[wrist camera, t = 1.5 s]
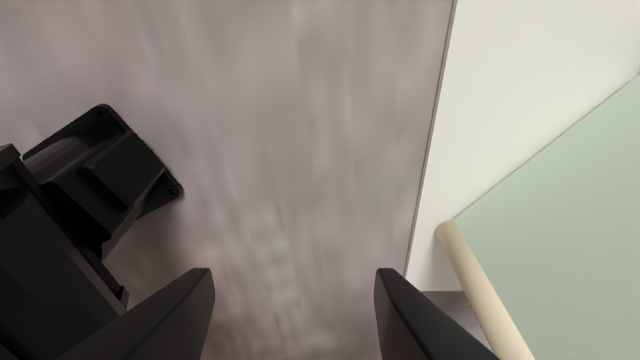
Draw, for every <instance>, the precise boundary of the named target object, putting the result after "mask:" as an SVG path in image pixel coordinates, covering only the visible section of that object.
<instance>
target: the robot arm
mask: <svg viewBox="0 0 640 360" xmlns="http://www.w3.org/2000/svg"><path fill="white" fill-rule="evenodd" d="M100 110H101V111H103V112H105V114H106V117H104V116H103V115H102V114H101V111H100ZM20 156H21V154H20V153H19V152H18V151H17V149H16V148H15V147H14V145H13V144H12V143H11V144H7V145H4V146H0V360H199V359H200V356H201V353H202V349H203V346H204V342H205V338H206V334H207V330H208V326H209V322H210V318H211V314H212V310H213V306H214V302H215V288H214V283H213V278H212V273H211V270H210V269H209V268H193V269H191V270H189V271H188V272H186V273H185V274H183V275H182V276H180V277H179V278H177V279H176V280H174V281H173V282H171V283H170V284H168V285H167V286H165V287H164V288H162V289H161V290H159V291H158V292H156V293H155V294H153V295H152V296H150V297H149V298H147V299H146V300H144V301H143V302H141V303H140V304H138V305H137V306H135V307H134V308H132V309H131V310H129V311H127V310H126V309H127V304H128V299H129V292H128V291H127V290H126V289H125V287H124V286H120V285H119V283H118V282H117V281H116V280H115V278H114V277H113V276H112V275H111V273H110V272H109V271H108V270H107V268H106V267H105V266H104V264H103V263H102V262H103V261H104V260H105V258H106V257H107V256H108V254H109V253H110V252H111V251H112V249H113V248H114V247H115V245H116V244H117V243H118V242H119V240H120V239H121V238H122V236H123V235H124V234H125V233H126V231H127V230H128V229H129V227H130V226H131V225H132V224H133V222H134V221H135V220H137V219H139V218H141V217H142V216H144V215H146V214H148V213H150V212H152V211H153V210H155V209H157V208H159V207H161V206H163V205H165V204H166V203H168V202H170V201H172V200H174V199H176V198H177V197H179V195H180V194H181V192H182V187H181V185H180V184H179V183H178V182H177V181H176V179H175V178H174V177H173V176H172V175H171V174H170V173H169V172H168V170H167V169H166V168H165V167H164V165H163V164H162V162H161V161H160V160H159V159H158V158H157V157H156V156H155V155H154V153H153V152H152V151H151V150H150V149H149V148H148V147H147V146H146V144H145V143H144V142H143V141H142V140H141V139H140V138H139V137H138V135H137V134H136V133H134V132H133V131H132V130H131V129H130V128H129V127H128V126H127V124H126V123H125V122H124V121H123V120H122V119H121V118H120V117H119V115H118V114H117V113H116V112H115V111H114V110H113V109H112V108H111V107H110V106H109V105H106V104H99V105H97V106H95V107H93V108H92V109H90V110H89V111H87V112H86V113H84V114H83V115H82V116H80V117H79V118H77V119H76V120H74V121H73V122H71V123H70V124H68V125H67V126H65V127H64V128H62V129H61V130H59V131H58V132H56V133H55V134H53V135H52V136H50V137H49V138H47V139H46V140H44V141H43V142H41V143H40V144H38V145H37V146H35V147H34V148H32V149H31V150H29V151H28V152H26V153H25V154H24V155H23V157H22V159H23V162H22V161H21V159H20V158H19V157H20ZM170 188H173V189H174V190H175V191H176V192H173V191H171V190H170ZM374 306H375V313H376V320H377V327H378V334H379V342H380V348H381V354H382V359H383V360H501V359H500V358H498V357H497V356H496V355H495V354H494V353H493V352H491V351H490V350H489V349H488V348H487V347H485V346H484V345H483V344H482V343H481V342H480V341H478V340H477V339H476V338H475V337H474V336H472V335H471V334H470V333H469V332H468V331H467V330H465V329H464V328H463V327H462V326H461V325H459V324H458V323H457V322H456V321H455V320H454V319H452V318H451V317H450V316H449V315H448V314H446V313H445V312H444V311H443V310H442V309H441V308H439V307H438V306H437V305H436V304H435V303H434V302H432V301H431V300H430V299H429V298H428V297H426V296H425V295H424V294H423V293H422V292H421V291H419V290H418V289H417V288H416V287H415V286H413V285H412V284H411V283H410V282H409V281H408V280H406V279H405V278H404V277H403V276H402V275H400V274H399V273H398V272H397V271H396V270H394V269H393V268H379V269H377V271H376V278H375V286H374Z"/></svg>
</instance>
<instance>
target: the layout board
mask: <svg viewBox="0 0 640 360" xmlns="http://www.w3.org/2000/svg"><path fill="white" fill-rule="evenodd" d="M639 74H640V0H454V2H453V8H452V13H451V19H450V24H449V30H448V35H447V41H446V46H445V52H444V57H443V63H442V68H441V74H440V79H439V85H438V90H437V96H436V101H435V107H434V112H433V118H432V123H431V129H430V134H429V140H428V145H427V151H426V156H425V162H424V167H423V173H422V178H421V184H420V189H419V195H418V200H417V206H416V211H415V217H414V222H413V228H412V233H411V239H410V244H409V250H408V255H407V261H406V267H405V272H404V278H405V279H406V280H408V281H409V282H410V283H411V284H412V285H413V286H415V287H416V288H417V289H418V290H419V291H463V288H462V286H461V284H460V282H459V280H458V278H457V276H456V274H455V272H454V270H453V268H452V266H451V264H450V261H449V259H448V257H447V255H446V253H445V251H444V249H443V247H442V245H441V243H440V241H439V239H438V237H437V229H438V227H439V226H440V225H441V224H442V223H443V222H445V221H447V220H452V219H454V218H456V217H457V216H458V215H460V214H461V213H462V212H463V211H465V210H466V209H467V208H469V207H470V206H471V205H472V204H474V203H475V202H476V201H478V200H479V199H480V198H481V197H483V196H484V195H485V194H487V193H488V192H489V191H490V190H492V189H493V188H494V187H496V186H497V185H498V184H499V183H501V182H502V181H503V180H505V179H506V178H507V177H508V176H510V175H511V174H512V173H514V172H515V171H516V170H517V169H519V168H520V167H521V166H523V165H524V164H525V163H526V162H528V161H529V160H530V159H532V158H533V157H534V156H535V155H537V154H538V153H539V152H541V151H542V150H543V149H544V148H546V147H547V146H548V145H550V144H551V143H552V142H553V141H555V140H556V139H557V138H559V137H560V136H561V135H562V134H564V133H565V132H566V131H568V130H569V129H570V128H571V127H573V126H574V125H575V124H577V123H578V122H579V121H580V120H582V119H583V118H584V117H586V116H587V115H588V114H589V113H591V112H592V111H593V110H595V109H596V108H597V107H598V106H600V105H601V104H602V103H603V102H605V101H606V100H607V99H609V98H610V97H611V96H612V95H614V94H615V93H616V92H618V91H619V90H620V89H621V88H623V87H624V86H625V85H627V84H628V83H629V82H630V81H632V80H633V79H634V78H636V77H637V76H638V75H639Z"/></svg>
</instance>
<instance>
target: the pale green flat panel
mask: <svg viewBox="0 0 640 360" xmlns="http://www.w3.org/2000/svg"><path fill="white" fill-rule="evenodd" d="M437 237H438V239H439V241H440V243H441V245H442V247H443V249H444V251H445V253H446V255H447V257H448V259H449V261H450V264H451V266H452V268H453V270H454V272H455V274H456V276H457V278H458V280H459V282H460V284H461V286H462V288H463V291H464V293H465V295H466V297H467V299H468V301H469V303H470V305H471V307H472V309H473V311H474V313H475V315H476V318H477V320H478V322H479V324H480V326H481V328H482V330H483V332H484V334H485V336H486V338H487V340H488V343H489V345H490V347H491V349H492V351H493V353H494V354H495V355H496V356H497V357H498V358H500V359H501V360H640V74H639V75H638V76H637V77H636V78H634V79H633V80H632V81H630V82H629V83H628V84H627V85H625V86H624V87H623V88H621V89H620V90H619V91H618V92H616V93H615V94H614V95H612V96H611V97H610V98H609V99H607V100H606V101H605V102H603V103H602V104H601V105H600V106H598V107H597V108H596V109H595V110H593V111H592V112H591V113H589V114H588V115H587V116H586V117H584V118H583V119H582V120H580V121H579V122H578V123H577V124H575V125H574V126H573V127H571V128H570V129H569V130H568V131H566V132H565V133H564V134H562V135H561V136H560V137H559V138H557V139H556V140H555V141H553V142H552V143H551V144H550V145H548V146H547V147H546V148H544V149H543V150H542V151H541V152H539V153H538V154H537V155H535V156H534V157H533V158H532V159H530V160H529V161H528V162H526V163H525V164H524V165H523V166H521V167H520V168H519V169H517V170H516V171H515V172H514V173H512V174H511V175H510V176H508V177H507V178H506V179H505V180H503V181H502V182H501V183H499V184H498V185H497V186H496V187H494V188H493V189H492V190H490V191H489V192H488V193H487V194H485V195H484V196H483V197H481V198H480V199H479V200H478V201H476V202H475V203H474V204H472V205H471V206H470V207H469V208H467V209H466V210H465V211H463V212H462V213H461V214H460V215H458V216H457V217H456V218H454V219H452V220H447V221H445V222H443V223H442V224H441V225H440V226H439V227H438V229H437Z"/></svg>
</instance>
